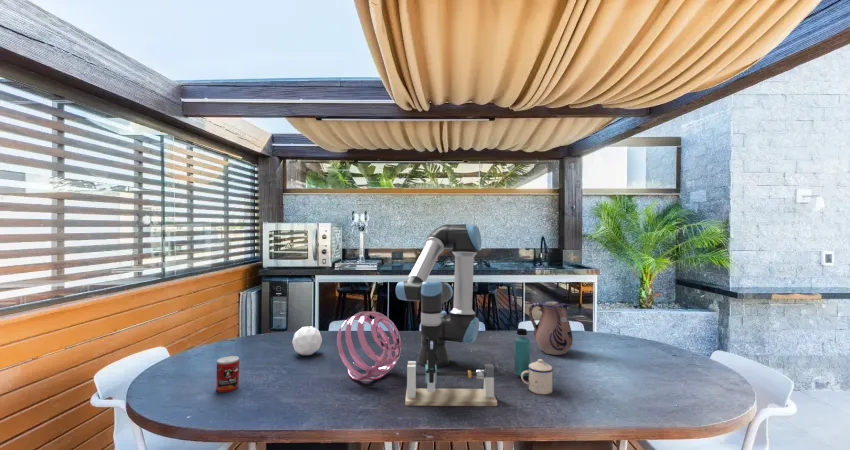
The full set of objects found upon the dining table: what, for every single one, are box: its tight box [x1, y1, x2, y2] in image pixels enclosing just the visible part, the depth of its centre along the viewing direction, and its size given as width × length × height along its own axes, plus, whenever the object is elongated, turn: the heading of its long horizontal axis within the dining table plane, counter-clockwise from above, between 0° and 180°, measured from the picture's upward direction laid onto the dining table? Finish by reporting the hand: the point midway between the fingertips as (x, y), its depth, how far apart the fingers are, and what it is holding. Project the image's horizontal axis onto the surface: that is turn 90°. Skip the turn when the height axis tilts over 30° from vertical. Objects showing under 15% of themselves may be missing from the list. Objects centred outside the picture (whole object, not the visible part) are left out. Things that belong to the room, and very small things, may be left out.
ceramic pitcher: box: [528, 301, 573, 356], centre depth 193 cm, size 18×21×25 cm
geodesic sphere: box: [291, 325, 323, 356], centre depth 188 cm, size 15×14×14 cm
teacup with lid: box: [520, 358, 554, 395], centre depth 146 cm, size 12×9×12 cm
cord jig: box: [404, 360, 498, 407], centre depth 137 cm, size 32×11×12 cm, turn 90°
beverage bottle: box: [513, 328, 531, 377], centre depth 159 cm, size 6×7×20 cm
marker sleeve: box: [424, 364, 438, 384], centre depth 137 cm, size 4×5×5 cm
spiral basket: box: [336, 311, 402, 382], centre depth 159 cm, size 28×28×27 cm
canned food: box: [215, 355, 240, 393], centre depth 145 cm, size 8×8×11 cm
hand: (430, 384), depth 137 cm, fingers open, 11 cm apart
